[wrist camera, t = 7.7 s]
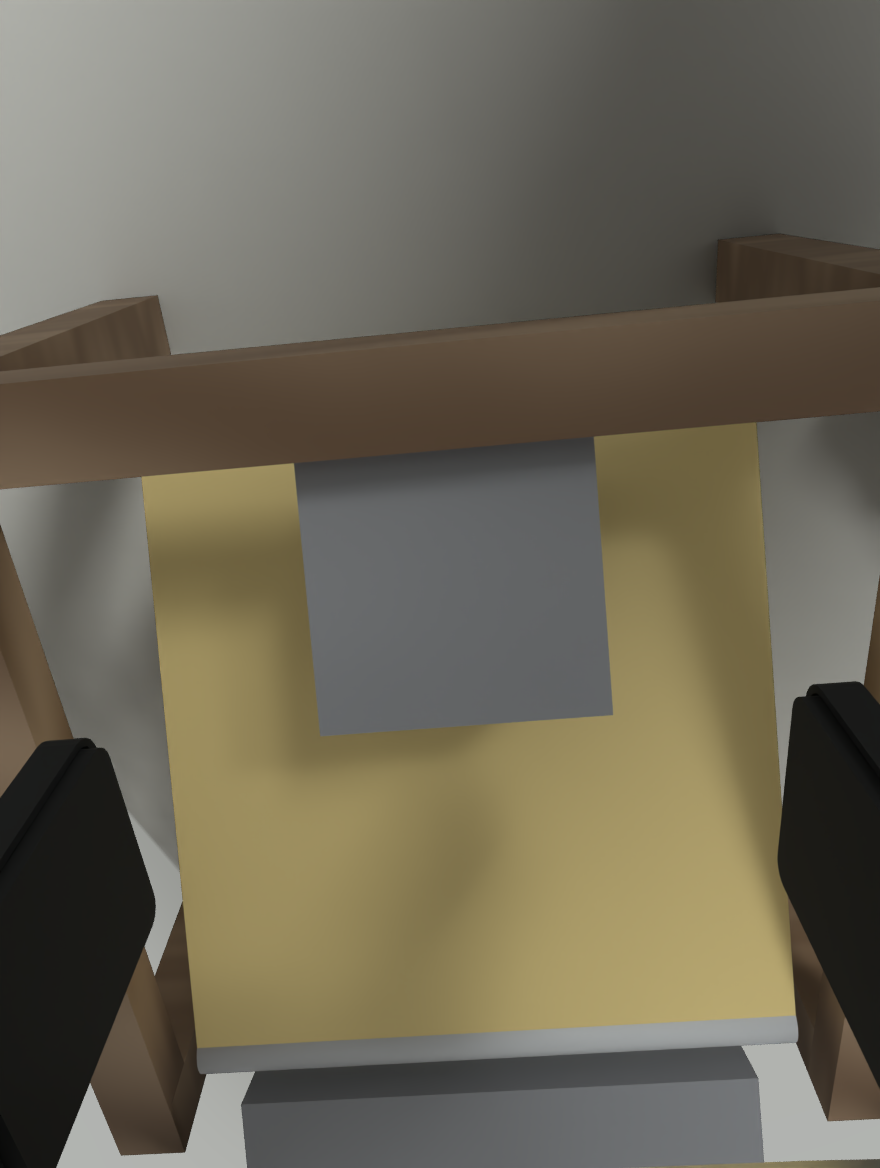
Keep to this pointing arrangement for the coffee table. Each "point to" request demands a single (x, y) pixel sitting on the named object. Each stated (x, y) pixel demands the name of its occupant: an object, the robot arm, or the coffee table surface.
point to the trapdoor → (485, 850)
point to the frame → (407, 425)
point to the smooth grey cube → (455, 587)
